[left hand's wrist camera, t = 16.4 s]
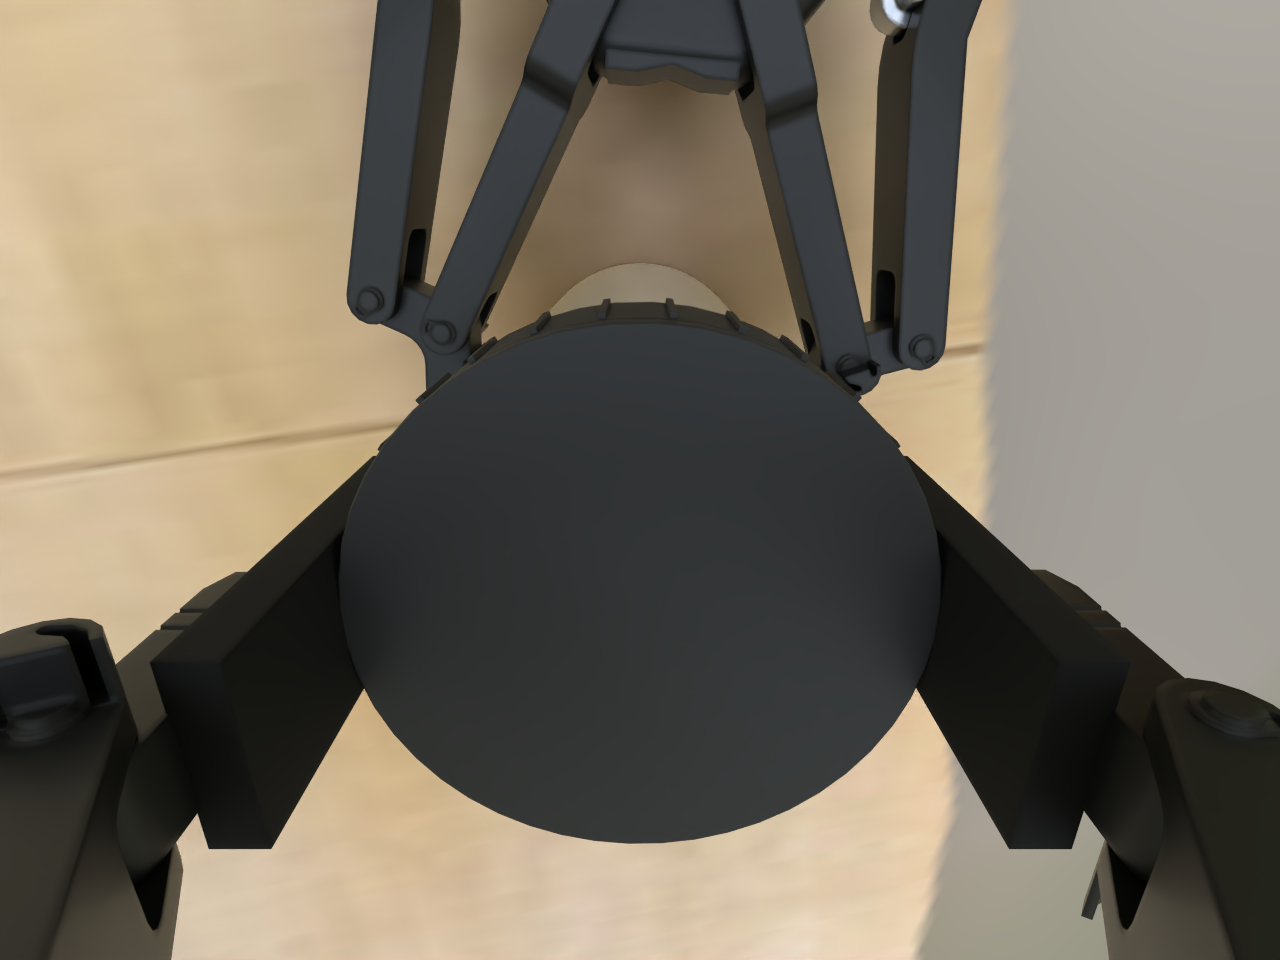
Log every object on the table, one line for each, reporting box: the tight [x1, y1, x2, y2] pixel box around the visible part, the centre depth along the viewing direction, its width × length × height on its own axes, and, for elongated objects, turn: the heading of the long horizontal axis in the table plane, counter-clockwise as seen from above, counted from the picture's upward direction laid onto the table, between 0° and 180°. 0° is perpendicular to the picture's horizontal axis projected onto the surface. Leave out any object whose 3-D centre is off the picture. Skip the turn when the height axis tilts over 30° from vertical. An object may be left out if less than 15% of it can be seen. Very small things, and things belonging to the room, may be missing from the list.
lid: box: [338, 298, 941, 844], centre depth 11 cm, size 9×9×2 cm
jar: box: [549, 263, 730, 316], centre depth 18 cm, size 8×8×16 cm
